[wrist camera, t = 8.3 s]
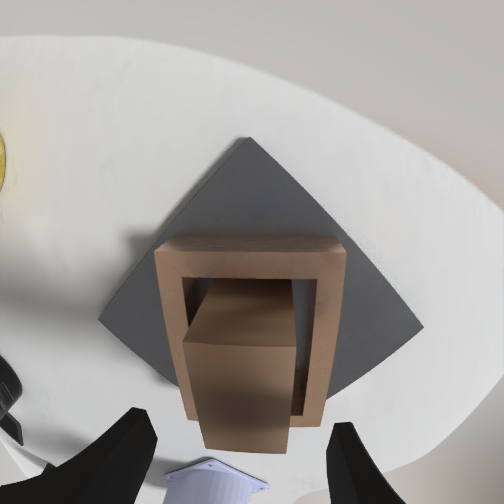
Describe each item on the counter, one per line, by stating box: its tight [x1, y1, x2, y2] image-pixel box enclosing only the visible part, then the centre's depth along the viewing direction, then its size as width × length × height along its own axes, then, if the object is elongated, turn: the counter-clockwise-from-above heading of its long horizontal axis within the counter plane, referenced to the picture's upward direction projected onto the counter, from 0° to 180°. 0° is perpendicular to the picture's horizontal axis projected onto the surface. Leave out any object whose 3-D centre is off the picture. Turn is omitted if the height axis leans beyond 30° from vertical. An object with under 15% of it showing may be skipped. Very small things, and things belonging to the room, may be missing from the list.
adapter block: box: [182, 278, 296, 454], centre depth 14 cm, size 4×7×6 cm, turn 1°
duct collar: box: [98, 137, 424, 427], centre depth 16 cm, size 15×15×3 cm
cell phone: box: [0, 412, 23, 446], centre depth 30 cm, size 7×14×1 cm, turn 146°
